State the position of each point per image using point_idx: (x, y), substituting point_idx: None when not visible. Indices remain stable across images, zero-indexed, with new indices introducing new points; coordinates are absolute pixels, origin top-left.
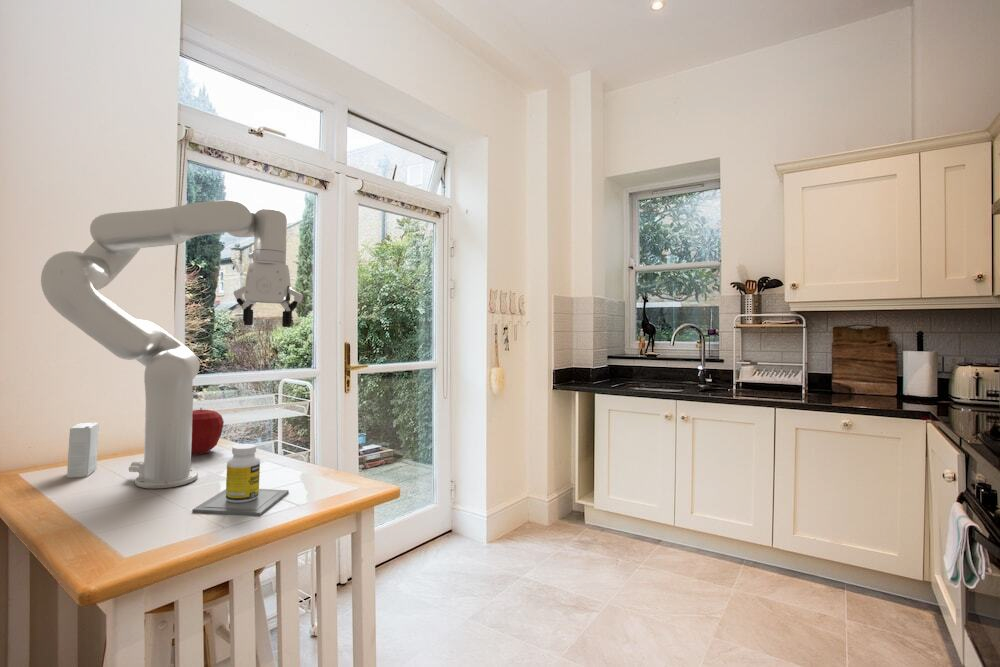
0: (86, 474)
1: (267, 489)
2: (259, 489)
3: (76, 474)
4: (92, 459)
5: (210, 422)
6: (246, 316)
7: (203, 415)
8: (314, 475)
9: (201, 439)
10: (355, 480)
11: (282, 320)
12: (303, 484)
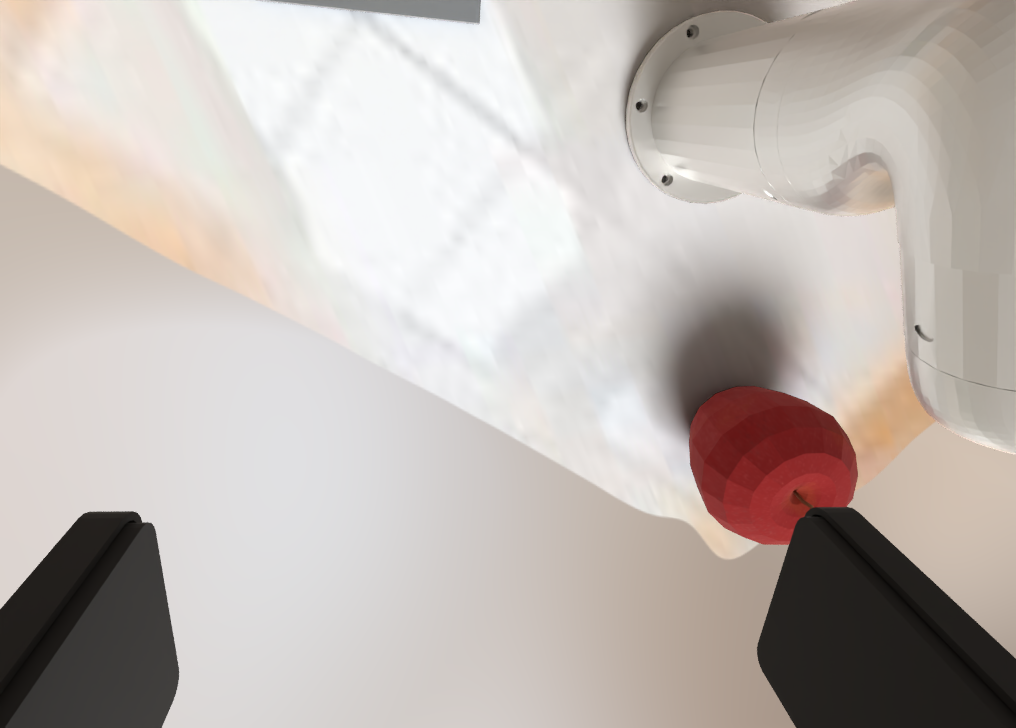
0: None
1: (334, 5)
2: (362, 2)
3: None
4: None
5: (736, 443)
6: (918, 618)
7: (776, 456)
8: (256, 221)
9: (731, 399)
10: (74, 175)
11: (92, 605)
12: (247, 109)
